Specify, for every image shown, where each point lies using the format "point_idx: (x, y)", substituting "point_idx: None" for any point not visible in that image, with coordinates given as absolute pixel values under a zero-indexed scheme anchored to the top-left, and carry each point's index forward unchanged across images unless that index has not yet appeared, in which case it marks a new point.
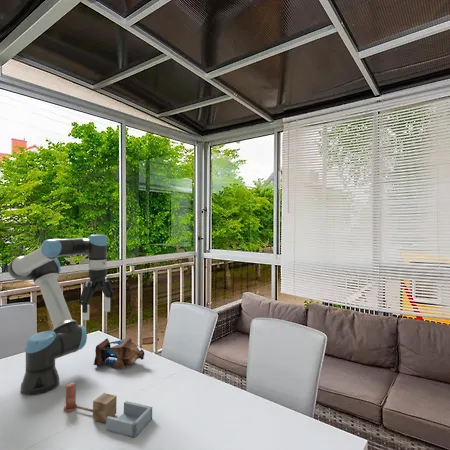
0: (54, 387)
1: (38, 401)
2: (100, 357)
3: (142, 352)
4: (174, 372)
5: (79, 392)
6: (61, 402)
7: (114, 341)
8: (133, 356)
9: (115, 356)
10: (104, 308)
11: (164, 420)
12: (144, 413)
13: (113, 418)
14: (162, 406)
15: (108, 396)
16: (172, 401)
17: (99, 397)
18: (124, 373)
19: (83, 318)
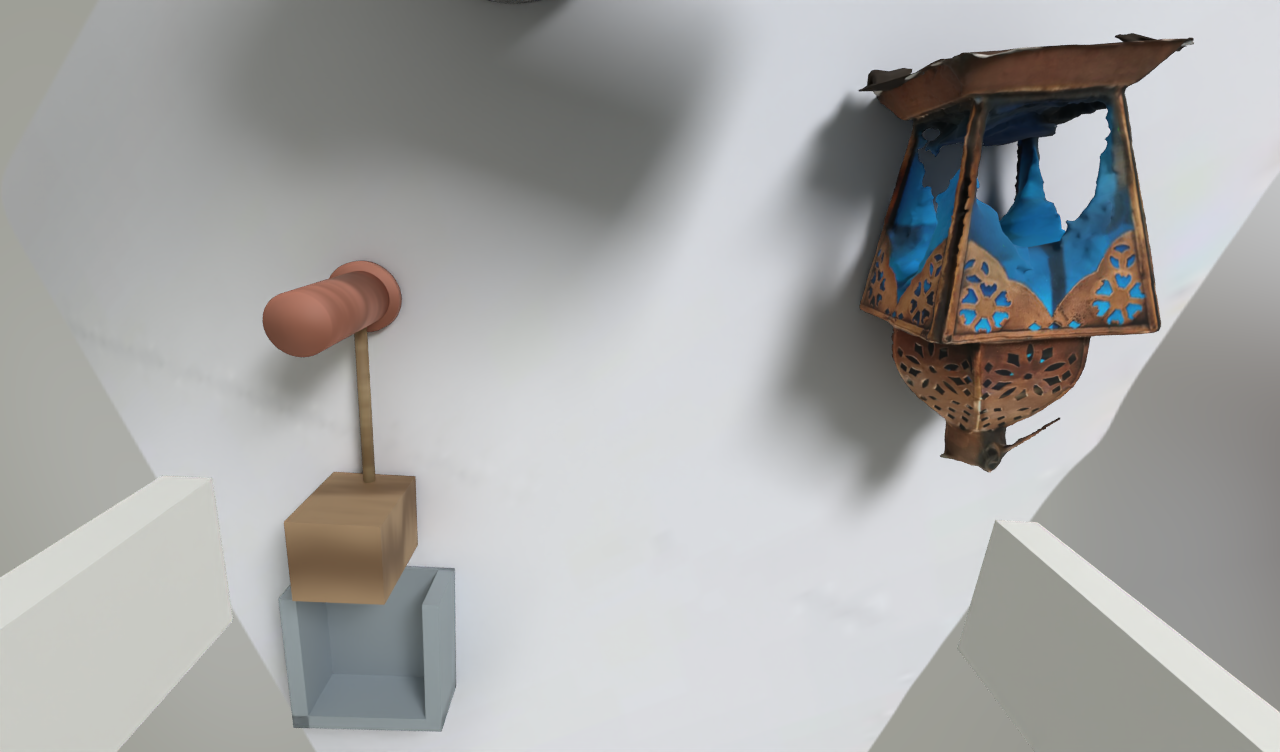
0: (511, 1)
1: (347, 25)
2: (926, 108)
3: (973, 464)
4: (879, 614)
5: (528, 221)
6: (398, 191)
7: (1129, 154)
8: (930, 405)
9: (1024, 172)
10: (1047, 574)
11: (464, 730)
12: (382, 725)
13: (289, 629)
14: (553, 686)
15: (359, 570)
16: (604, 707)
17: (329, 532)
18: (817, 353)
19: (142, 505)
